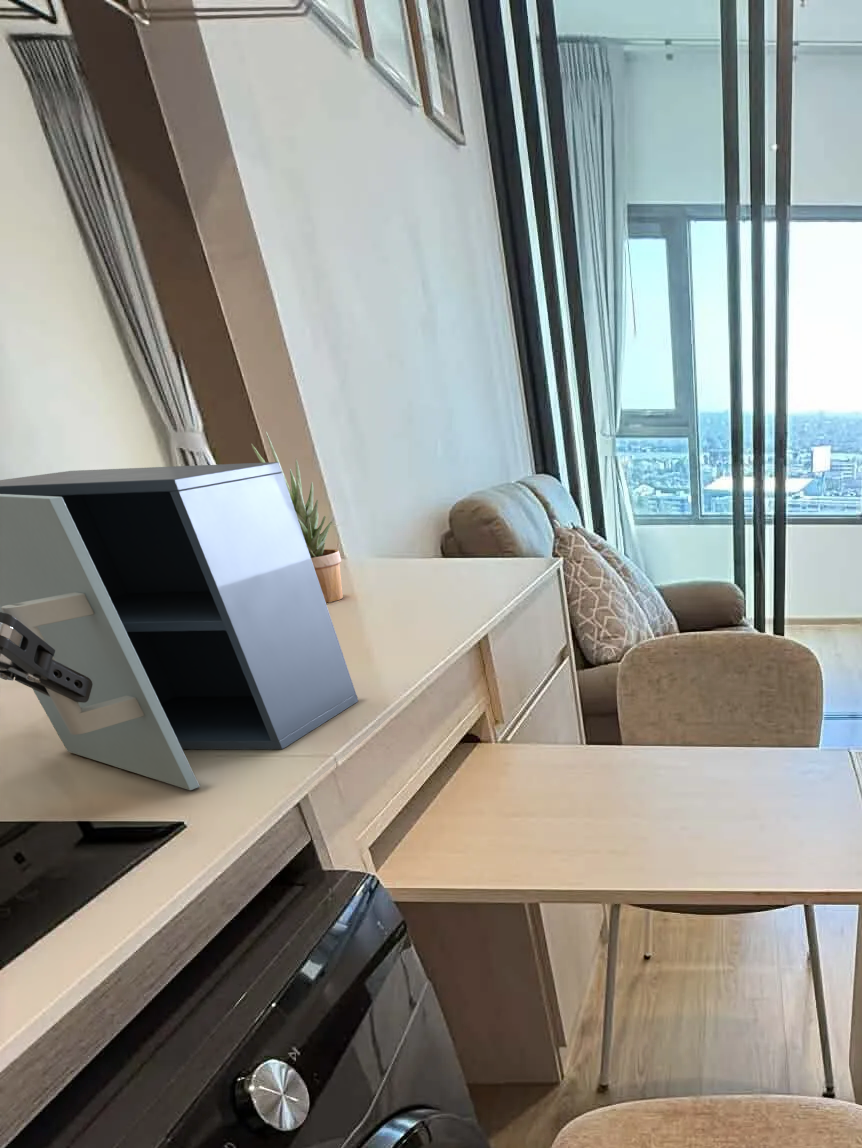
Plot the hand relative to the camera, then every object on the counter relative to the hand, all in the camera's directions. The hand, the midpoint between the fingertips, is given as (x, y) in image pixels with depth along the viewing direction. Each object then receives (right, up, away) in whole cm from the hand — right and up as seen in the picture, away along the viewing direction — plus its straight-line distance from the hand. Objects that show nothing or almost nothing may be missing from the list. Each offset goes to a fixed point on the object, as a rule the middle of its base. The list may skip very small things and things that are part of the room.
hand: (77, 691), depth 72 cm
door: (-7, -4, +11) cm, 13 cm away
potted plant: (-20, +47, +78) cm, 93 cm away
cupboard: (-2, +6, +23) cm, 24 cm away
